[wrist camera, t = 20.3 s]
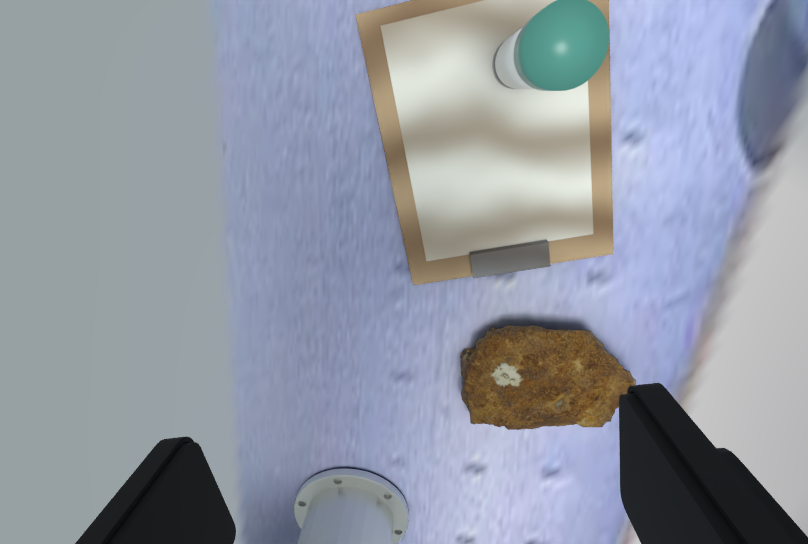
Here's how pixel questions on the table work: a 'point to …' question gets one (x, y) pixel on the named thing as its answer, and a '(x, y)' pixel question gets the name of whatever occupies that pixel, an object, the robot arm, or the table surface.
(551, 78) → the marker
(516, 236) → the clipboard
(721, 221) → the table surface
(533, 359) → the decorative rock
